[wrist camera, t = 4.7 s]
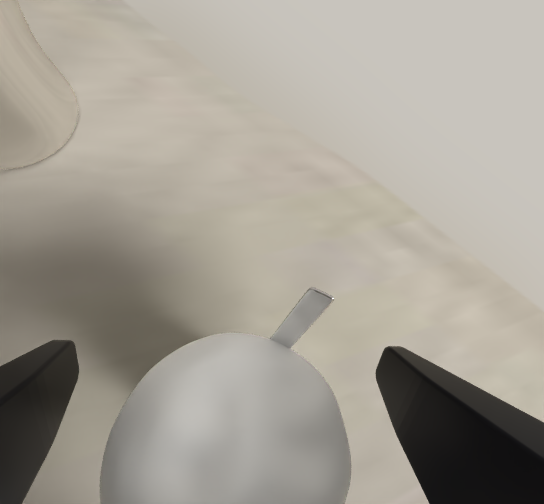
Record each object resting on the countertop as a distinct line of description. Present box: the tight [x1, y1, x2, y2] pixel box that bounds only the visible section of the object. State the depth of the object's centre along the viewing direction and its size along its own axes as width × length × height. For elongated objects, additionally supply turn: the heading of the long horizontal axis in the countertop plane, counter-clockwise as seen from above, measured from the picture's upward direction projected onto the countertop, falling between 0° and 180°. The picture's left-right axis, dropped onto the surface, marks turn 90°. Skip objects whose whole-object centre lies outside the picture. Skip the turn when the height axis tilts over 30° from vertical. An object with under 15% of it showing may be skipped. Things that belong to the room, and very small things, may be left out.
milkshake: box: [100, 287, 351, 504], centre depth 9 cm, size 4×5×10 cm
